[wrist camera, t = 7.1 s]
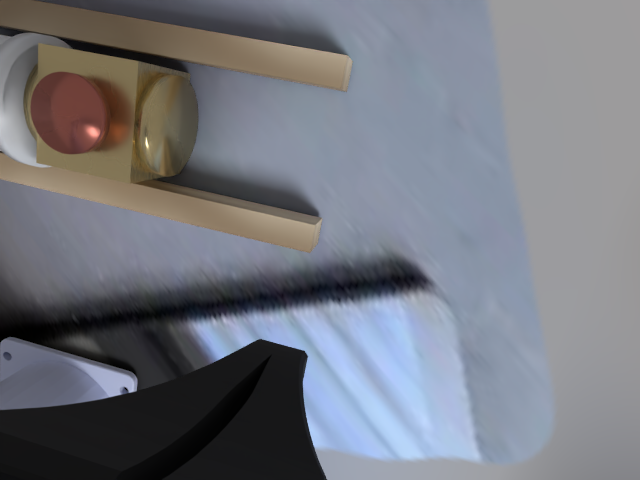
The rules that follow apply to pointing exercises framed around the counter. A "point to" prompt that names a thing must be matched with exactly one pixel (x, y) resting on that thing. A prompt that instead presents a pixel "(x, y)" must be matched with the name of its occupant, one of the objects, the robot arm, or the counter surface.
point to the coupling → (19, 93)
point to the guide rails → (189, 46)
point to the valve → (109, 115)
